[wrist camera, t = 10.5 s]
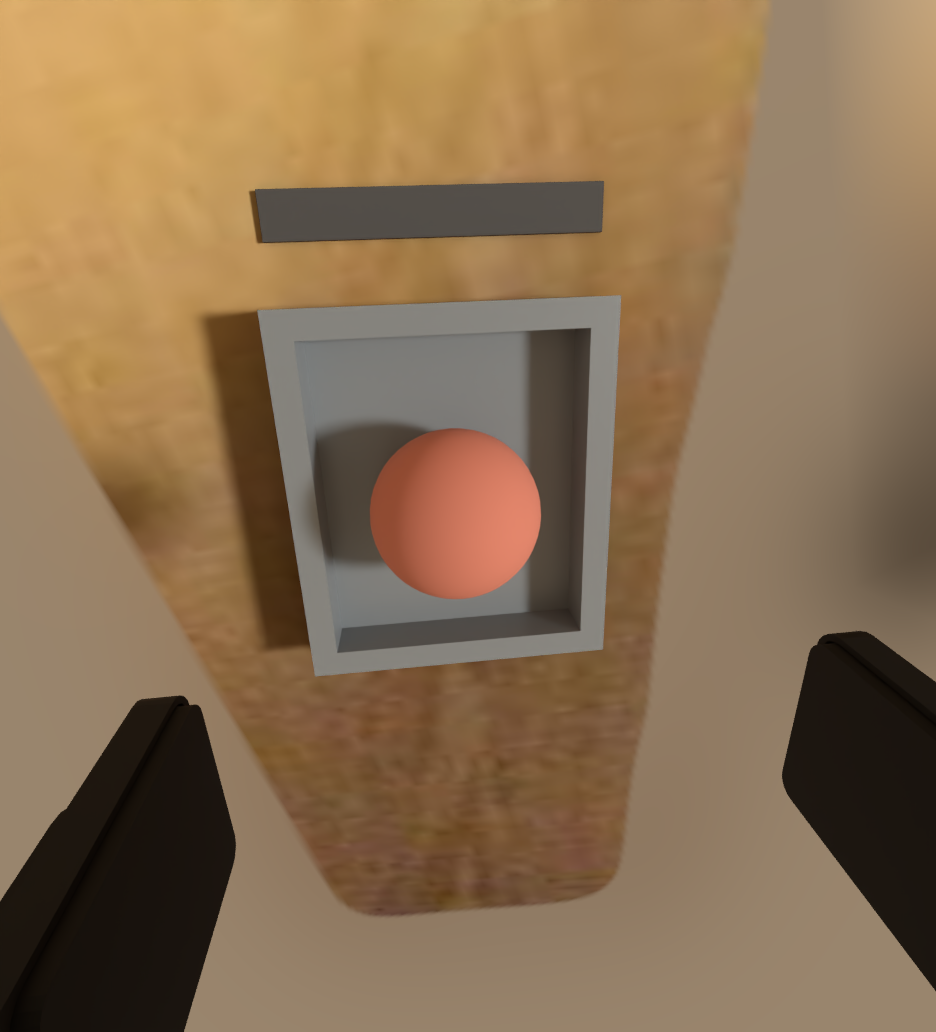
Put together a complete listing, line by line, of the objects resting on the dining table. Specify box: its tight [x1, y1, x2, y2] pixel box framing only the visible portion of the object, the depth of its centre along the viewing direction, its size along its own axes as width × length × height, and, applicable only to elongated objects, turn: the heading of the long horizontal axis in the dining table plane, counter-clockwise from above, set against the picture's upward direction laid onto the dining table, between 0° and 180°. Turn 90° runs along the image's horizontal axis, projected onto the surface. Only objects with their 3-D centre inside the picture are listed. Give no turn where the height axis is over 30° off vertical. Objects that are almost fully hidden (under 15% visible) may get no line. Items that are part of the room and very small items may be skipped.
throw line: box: [255, 181, 604, 243], centre depth 20 cm, size 2×12×1 cm, turn 92°
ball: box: [370, 428, 541, 599], centre depth 20 cm, size 6×6×6 cm
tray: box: [257, 295, 621, 676], centre depth 22 cm, size 14×12×2 cm
